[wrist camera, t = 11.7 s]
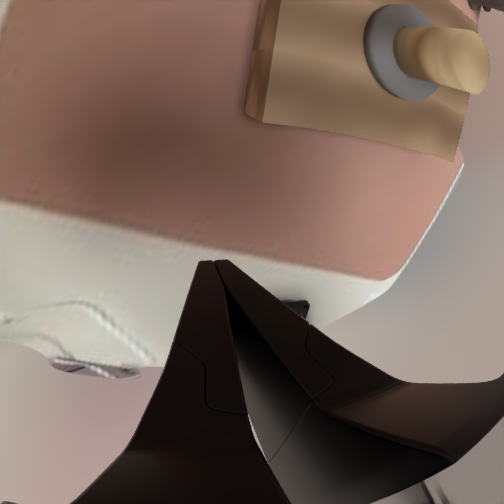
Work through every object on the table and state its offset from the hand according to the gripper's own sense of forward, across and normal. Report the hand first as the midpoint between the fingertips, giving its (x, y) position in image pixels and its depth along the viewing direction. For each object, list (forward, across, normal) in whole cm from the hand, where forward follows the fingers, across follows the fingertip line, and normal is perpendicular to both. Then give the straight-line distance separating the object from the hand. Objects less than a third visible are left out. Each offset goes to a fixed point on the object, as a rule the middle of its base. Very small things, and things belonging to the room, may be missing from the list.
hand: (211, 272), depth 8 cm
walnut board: (+13, -13, -10) cm, 21 cm away
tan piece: (+12, -13, -10) cm, 21 cm away
